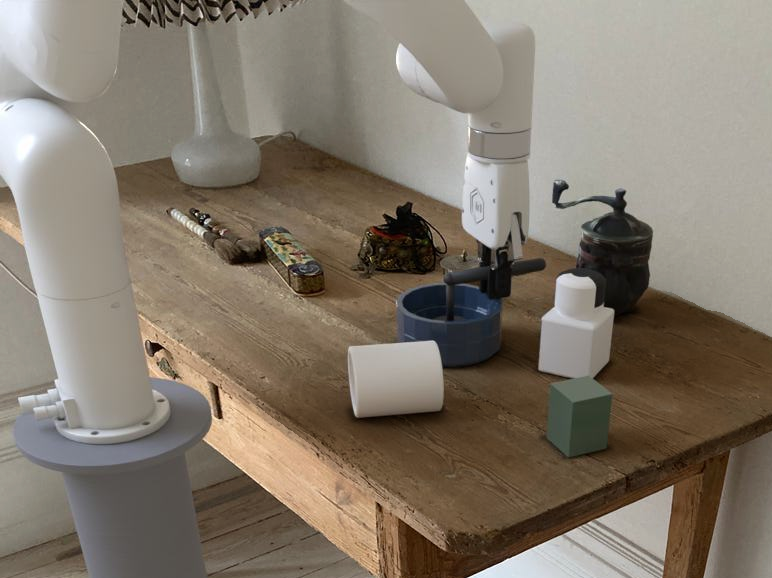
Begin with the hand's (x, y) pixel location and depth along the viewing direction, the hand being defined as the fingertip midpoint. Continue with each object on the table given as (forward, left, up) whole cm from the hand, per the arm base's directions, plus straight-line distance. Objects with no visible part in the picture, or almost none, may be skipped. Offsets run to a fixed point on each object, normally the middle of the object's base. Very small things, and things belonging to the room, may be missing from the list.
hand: (494, 293), depth 134 cm
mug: (-20, -12, -6) cm, 24 cm away
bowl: (-7, 0, -6) cm, 9 cm away
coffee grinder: (+17, +2, -6) cm, 19 cm away
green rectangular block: (-5, -30, -6) cm, 30 cm away
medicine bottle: (+5, -12, -6) cm, 15 cm away
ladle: (-1, 0, -5) cm, 5 cm away
